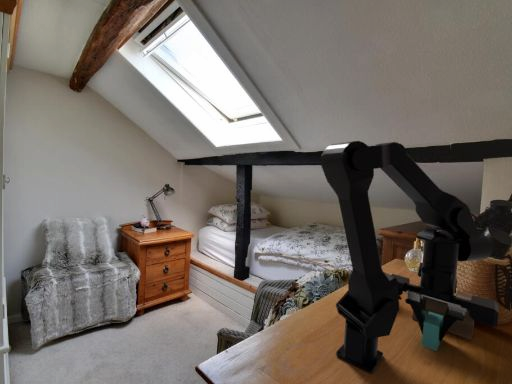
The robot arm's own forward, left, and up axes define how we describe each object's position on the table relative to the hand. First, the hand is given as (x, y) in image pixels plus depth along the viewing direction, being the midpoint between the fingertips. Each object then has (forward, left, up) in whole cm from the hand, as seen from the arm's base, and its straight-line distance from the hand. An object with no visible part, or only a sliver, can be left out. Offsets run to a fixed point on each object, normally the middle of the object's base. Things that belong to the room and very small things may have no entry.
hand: (431, 337), depth 55 cm
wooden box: (+13, -1, -1) cm, 13 cm away
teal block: (0, 0, -1) cm, 1 cm away
